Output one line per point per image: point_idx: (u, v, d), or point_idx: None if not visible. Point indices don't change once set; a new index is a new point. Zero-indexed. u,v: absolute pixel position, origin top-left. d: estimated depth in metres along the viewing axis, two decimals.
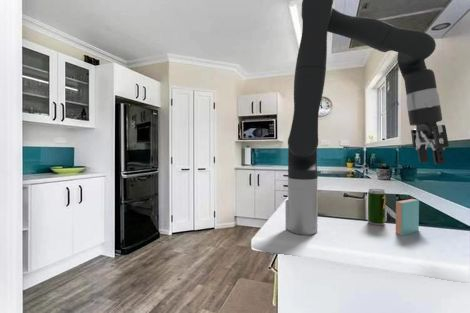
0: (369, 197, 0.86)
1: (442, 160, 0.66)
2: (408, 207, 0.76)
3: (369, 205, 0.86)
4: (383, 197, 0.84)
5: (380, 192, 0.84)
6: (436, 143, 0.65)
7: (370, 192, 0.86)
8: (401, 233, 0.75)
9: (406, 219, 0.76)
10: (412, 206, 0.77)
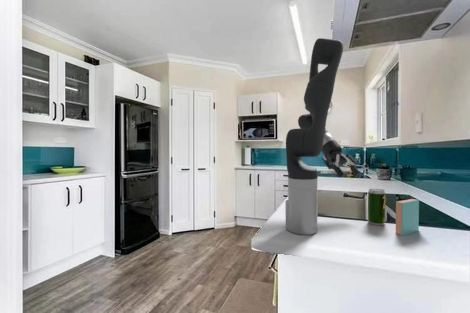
0: (369, 197, 0.86)
1: None
2: (408, 207, 0.76)
3: (369, 205, 0.86)
4: (383, 197, 0.84)
5: (380, 192, 0.84)
6: (355, 161, 1.01)
7: (370, 192, 0.86)
8: (401, 233, 0.75)
9: (406, 219, 0.76)
10: (412, 206, 0.77)
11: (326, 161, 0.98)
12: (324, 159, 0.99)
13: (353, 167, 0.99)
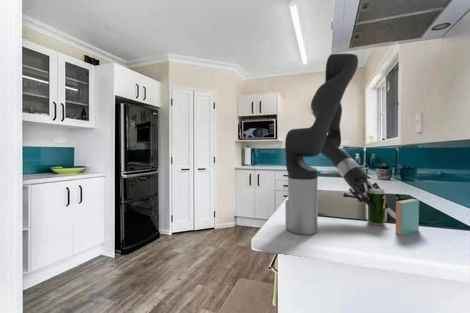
0: None
1: None
2: (408, 207, 0.76)
3: None
4: (383, 197, 0.84)
5: (380, 192, 0.84)
6: None
7: (370, 192, 0.86)
8: (401, 233, 0.75)
9: (406, 219, 0.76)
10: (412, 206, 0.77)
11: (355, 193, 0.87)
12: (352, 191, 0.88)
13: None
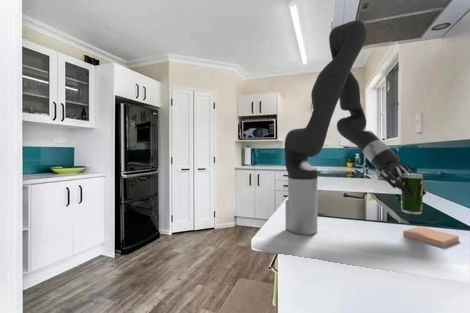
0: None
1: None
2: None
3: None
4: (421, 182, 0.74)
5: (417, 176, 0.74)
6: None
7: (405, 176, 0.76)
8: None
9: None
10: None
11: (388, 178, 0.77)
12: (384, 175, 0.77)
13: None
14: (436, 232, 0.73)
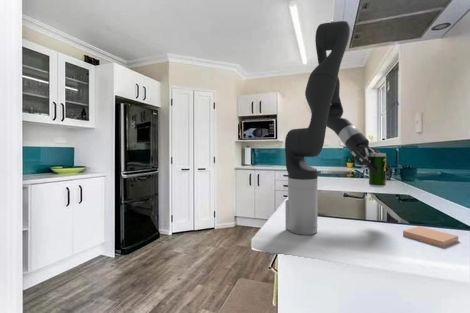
0: None
1: None
2: None
3: None
4: (384, 159, 0.86)
5: (381, 155, 0.86)
6: None
7: (371, 155, 0.88)
8: None
9: None
10: None
11: (357, 157, 0.89)
12: (353, 155, 0.90)
13: None
14: (436, 232, 0.73)
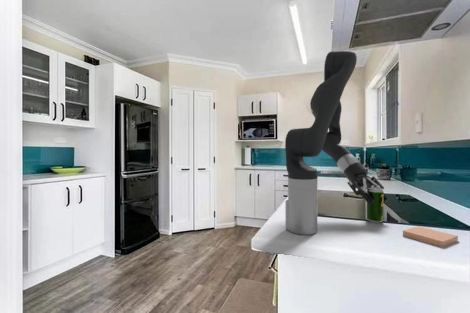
0: None
1: None
2: None
3: None
4: (381, 195, 0.87)
5: (378, 190, 0.87)
6: (381, 185, 0.94)
7: (369, 190, 0.89)
8: None
9: None
10: None
11: (353, 186, 0.90)
12: (350, 184, 0.91)
13: None
14: (435, 232, 0.73)
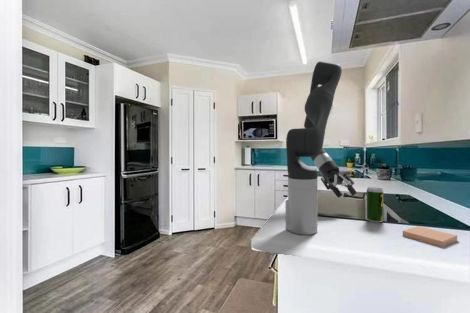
0: (368, 195, 0.89)
1: None
2: None
3: (368, 203, 0.89)
4: (381, 195, 0.87)
5: (378, 190, 0.87)
6: (352, 181, 1.05)
7: (368, 190, 0.89)
8: None
9: None
10: None
11: (325, 181, 1.01)
12: (323, 179, 1.02)
13: (350, 187, 1.03)
14: (435, 232, 0.73)
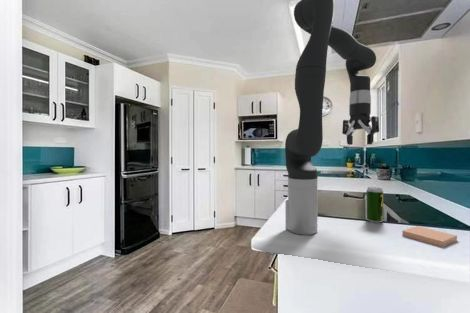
0: (367, 195, 0.89)
1: (372, 141, 0.93)
2: None
3: (367, 203, 0.89)
4: (381, 195, 0.87)
5: (378, 190, 0.87)
6: (373, 128, 0.91)
7: (368, 190, 0.89)
8: None
9: None
10: None
11: None
12: None
13: None
14: (434, 232, 0.73)
